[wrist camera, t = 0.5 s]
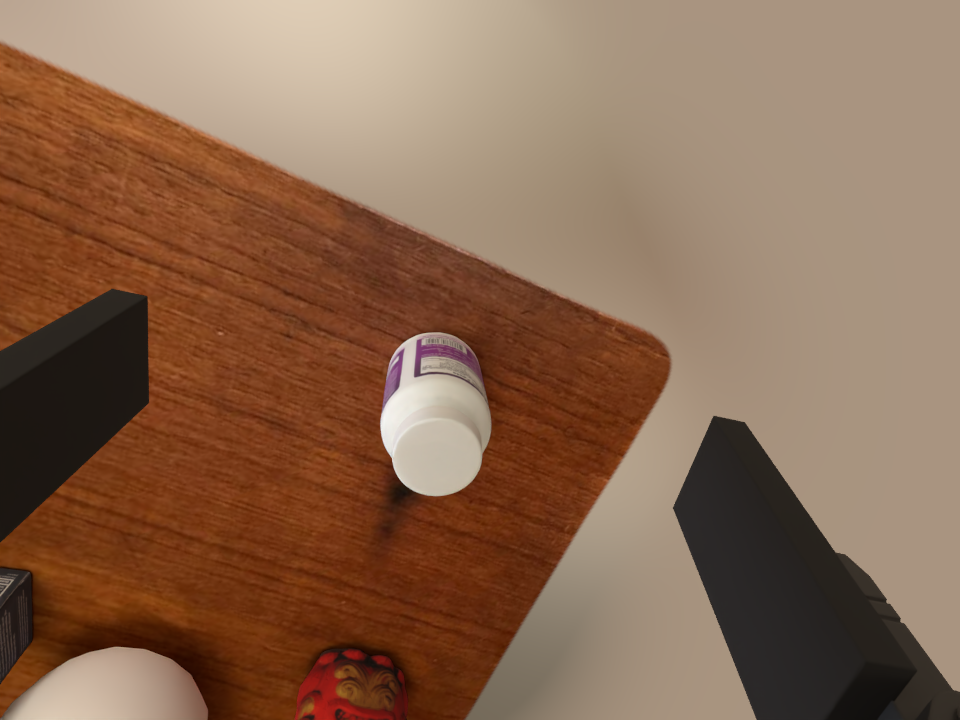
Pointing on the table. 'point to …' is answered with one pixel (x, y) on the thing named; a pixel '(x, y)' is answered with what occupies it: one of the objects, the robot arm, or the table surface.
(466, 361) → the pill bottle
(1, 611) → the small box
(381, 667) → the red clay folk toy
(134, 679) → the cup
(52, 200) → the table surface
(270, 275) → the table surface
